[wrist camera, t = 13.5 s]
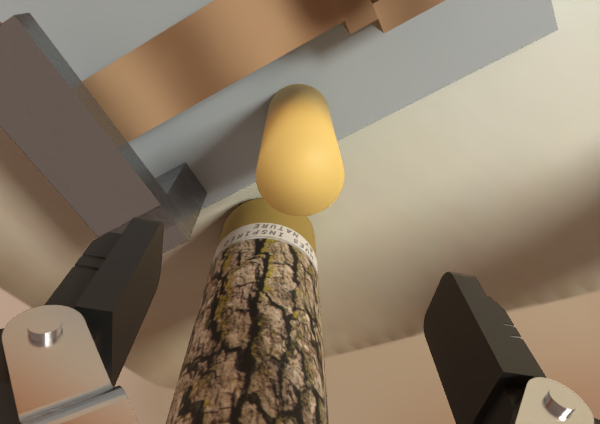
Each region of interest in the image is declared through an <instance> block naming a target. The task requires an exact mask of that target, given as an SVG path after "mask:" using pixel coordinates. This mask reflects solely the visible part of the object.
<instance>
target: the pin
mask: <svg viewBox="0 0 600 424" xmlns="http://www.w3.org/2000/svg"><path fill="white" fill-rule="evenodd" d="M256 183H257V187H258V190H259V192H260V194H261V196H262V197H263V199H264V200H265V201H266V202H267V203H268V204H269V205H270V206H271V207H272V208H274V209H276V210H277V211H279V212H281V213H284V214H287V215H291V216H308V215H313V214H316V213H318V212H321V211H323V210H324V209H326V208H327V207H329V206H330V205H331V204H332V203H333V202H334V201H335V200H336V199H337V197H338V196H339V194H340V192H341V190H342V187H343V184H344V167H343V163H342V159H341V155H340V151H339V147H338V143H337V139H336V135H335V131H334V127H333V123H332V120H331V116H330V112H329V108H328V104H327V102H326V100H325V98H324V96H323V95H322V94H321V93H320V92H319V91H318V90H316V89H315V88H313V87H311V86H309V85H305V84H292V85H288V86H286V87H284V88H282V89H280V90H279V91H278V92H277V93H276V94H275V95H274V96H273V98H272V99H271V101H270V104H269V107H268V112H267V117H266V122H265V128H264V133H263V138H262V143H261V148H260V153H259V158H258V164H257V169H256Z"/></svg>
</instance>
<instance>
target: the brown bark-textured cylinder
mask: <svg viewBox="0 0 600 424" xmlns="http://www.w3.org/2000/svg"><path fill="white" fill-rule="evenodd" d="M325 380H326V379H325V366H324V352H323V338H322V325H321V311H320V297H319V284H318V270H317V260H316V248H315V235H314V230H313V227H312V225H311V222H310V221H309V219H308V217H307V216H291V215H287V214H284V213H281V212H279V211H277V210H276V209H274V208H272V207H271V206H270V205H269V204H268V203H267V202H266V201H265V200H264V199H263V198H257V199H253V200H250V201H247V202H245V203H243V204H241V205H239V206H238V207H237V208H235V209H234V210H233V211H232V212H231V213H230V215H229V216H228V217H227V219H226V221H225V223H224V225H223V228H222V231H221V235H220V238H219V242H218V245H217V249H216V251H215V254H214V258H213V261H212V265H211V268H210V272H209V275H208V279H207V282H206V286H205V289H204V293H203V296H202V299H201V303H200V306H199V310H198V313H197V317H196V320H195V324H194V327H193V331H192V334H191V338H190V341H189V345H188V348H187V352H186V355H185V358H184V362H183V365H182V369H181V372H180V376H179V379H178V383H177V386H176V390H175V393H174V397H173V401H172V404H171V407H170V411H169V414H168V418H167V421H166V424H329V421H328V406H327V393H326V381H325Z"/></svg>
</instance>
